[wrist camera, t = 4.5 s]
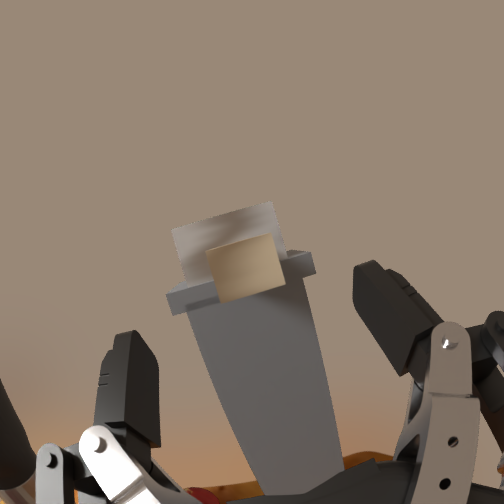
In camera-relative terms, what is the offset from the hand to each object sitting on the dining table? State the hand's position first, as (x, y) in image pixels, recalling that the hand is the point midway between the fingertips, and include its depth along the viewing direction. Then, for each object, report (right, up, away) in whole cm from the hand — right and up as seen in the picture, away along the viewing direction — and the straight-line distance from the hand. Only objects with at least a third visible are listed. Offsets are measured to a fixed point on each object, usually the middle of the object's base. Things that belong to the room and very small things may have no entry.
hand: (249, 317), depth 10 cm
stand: (+8, -30, +13) cm, 33 cm away
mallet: (-1, +1, +7) cm, 8 cm away
